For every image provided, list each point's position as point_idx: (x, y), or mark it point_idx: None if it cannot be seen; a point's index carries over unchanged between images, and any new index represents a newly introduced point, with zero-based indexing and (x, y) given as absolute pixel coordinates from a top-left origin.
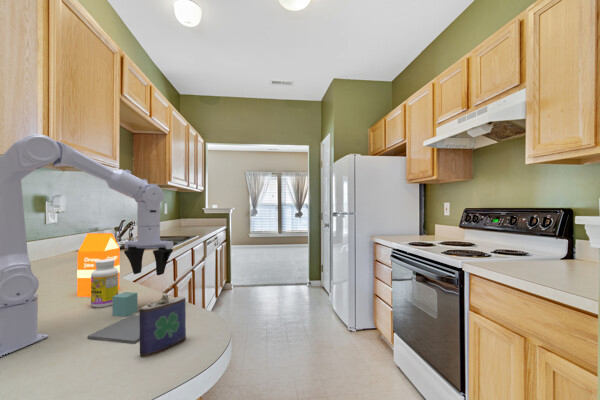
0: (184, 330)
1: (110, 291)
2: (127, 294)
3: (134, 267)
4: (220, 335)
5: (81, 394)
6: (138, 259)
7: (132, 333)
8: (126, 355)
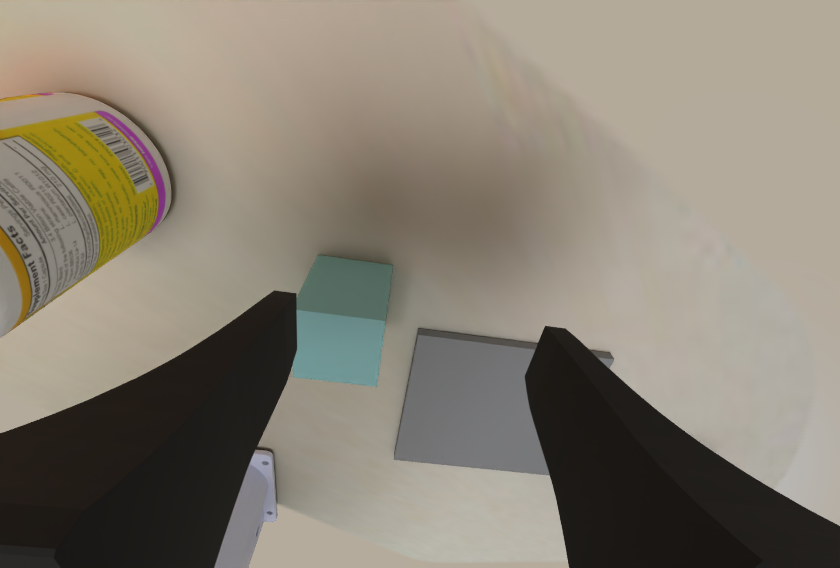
0: None
1: (121, 238)
2: (345, 346)
3: (273, 408)
4: (787, 433)
5: (541, 561)
6: (231, 434)
7: (519, 448)
8: (553, 499)
